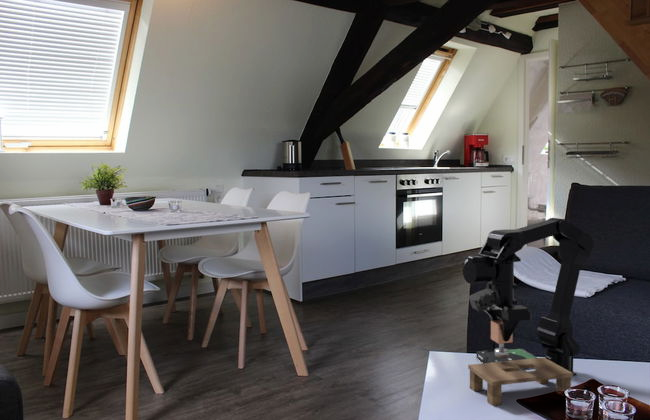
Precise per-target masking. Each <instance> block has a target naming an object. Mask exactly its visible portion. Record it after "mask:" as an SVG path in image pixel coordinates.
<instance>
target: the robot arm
mask: <svg viewBox="0 0 650 420" xmlns="http://www.w3.org/2000/svg"><path fill="white" fill-rule="evenodd" d="M550 237H552V238H553V239H554V240H555V241H556V242H557V243H558V253H559V256H560V260H561V264H560V267H559V272H558V276H557V281H556V285H555V290H554V292H553V293H554V294H553V298H552V302H551V308H550V311H549V313H548V314H546V316H545V317H544V316H540V318H539V324H538V327H537V329H536V331H537V336H538V339H539V341H540V343H541V347H542V348H544V349H546V355H545V357H544V358H546V359H548V360H550V361H552V362H553V363H555V364H557V365H559V366H561V367H563V368H564V369H566V370H568V371H570V372H572V373H573V377H574V376H578V375H577V372H576V371H574V357H575V356H576V355H578V354H579V353H580V348H581V346H580V345H579V343H578V342H576V340H575V339H574V338H573V331H574V328H573V325H572V321H571V318H570V315H571V312H572V307H573V302H574V298H575V293H576V289H577V284H578V280H579V276H580V271H581V267H582V265H583V264H584V263H585V262H586V261H587V260H588V259H589V257H590V256H591V253H592V250H593V247H594V244H595V243H594V241H595V240H594V239H593V237H592V235H591V234H590V233H588V232H585V231H584V230H583V229H580V228H578V227H576V226H575V225H573V224H572V223H570V222H569V221H568V220H566V219H564V218H558V217H550V218H548V219H545V220H543V221H540V222H535V223H533V224H529V225H526V226H523V227H519V228H516V229H515V228H514V229H495V230H492V231H489V233H488V235H487V239H486V240H485V242H484V244H483V245H482V247H481V249H480V250H479V252H478V254H477V256H475V255H469V256H467V261H466V262H465V263H464V264H463V268H462V275H463V279H464V280H465V282H466V283H468V284H470V285H471V284H479V283H486V284H485V285H486V287H485V288H484V289H482V290H479V291H477V292H474V293H472V294H470V295H469V296H468V300H469V302H470V303H469V304H470V306H471V308H472V309H474V310H476V311H477V312H485V313H486V314H488V316H489V319H490V321H491V320H500V321H501V322H502V331H503V338H504V341H509V339H510V337H511V335H512V333H514V331H515V329H516V328H517V326H518V325H519V323H520V322H521V321H528V320H529V321H531V320H532V311H531V310H530V309H529V308H528V307H526V306H523V305H522V304H520V305H518V300H517V299H515V298H514V295H515V293H514V291H515V290H514V289H518V285H517V284H516V283H515V281H514V280H515V278H514V275H515V274H514V270H515V269H514V268H515V267H514V266H515V264H514V263H519V262H521V258H520V257H519V256H518V255H517V254H516V253H517V252H519V251H521V250H522V249H523V247H524V246H526V245H528V244H531V243H535V242H537V241H540V240H544V239H547V238H550Z"/></svg>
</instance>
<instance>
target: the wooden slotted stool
mask: <svg viewBox="0 0 650 420" xmlns="http://www.w3.org/2000/svg"><path fill="white" fill-rule="evenodd" d="M467 367H468V368H467V369H468V370H469V388H470V390H472V391H473V392H479V391H484V384H483V383H484V382H486V383H487V384H486V385H487V387H486V388H487V390H486V391H487V393H486V396H487V397H486V399H487V400H486V402H487V403H488V404H489V405H491V406H499V405H502V388H503V387H502V385H503V386H504V385H512V384H522V383H531V382H537V383H538V384H540V385H541V384H543V385H544V384H549V382H550V381H549V380H555V381H556V382H555V392H556V391H564V390H565V389H568V388H571V389H572V387H571V385H572V384H571V383H572V378H573V377H574V376H573V373H572V372H570V371H568V370H566V369H564V368H563V367H561V366H559V365H557V364H555V363H553V362H552V361H550V360H548V359H546V358H545V357H537V358H533V359H523V360H512V361H502V362H492V363H482V362H481V363H474V364H467ZM526 369H533V370H530V371H529V370H528V371H527V370H526Z"/></svg>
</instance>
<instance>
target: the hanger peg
mask: <svg viewBox="0 0 650 420" xmlns="http://www.w3.org/2000/svg"><path fill="white" fill-rule="evenodd" d="M513 333H514V332H513ZM513 333H512V335H511V337H510V339H509V341H504V338H503V331H502V322H501V321H500V320H491V319H490V340H492V341H493V342H494V343H496V344H498V347H496V348H494V350H495V356H496V357H499V358H506V357H508V349H509V348H505V344H509V343H513V340H514V339H513V338H514V337H513V335H514V334H513Z"/></svg>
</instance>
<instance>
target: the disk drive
mask: <svg viewBox="0 0 650 420" xmlns="http://www.w3.org/2000/svg"><path fill="white" fill-rule="evenodd" d="M507 349H508V357H506V358H499V357H496V356H495V349H494V350H493V349H492V350H479V351H478V350H477V351H476V359H477V358H478V359H479V360H480V361H479V360H478V359H477V360H478V361H479V362H480V363H482V362H483V363H492V362H502V361H512V360H523V359H533V358H538V357H537V356H535V355H534V354H533V353H530V352H528V351H526V350H525V348H510V349H509V348H507Z"/></svg>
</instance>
